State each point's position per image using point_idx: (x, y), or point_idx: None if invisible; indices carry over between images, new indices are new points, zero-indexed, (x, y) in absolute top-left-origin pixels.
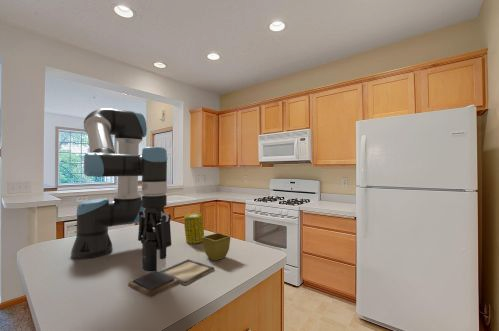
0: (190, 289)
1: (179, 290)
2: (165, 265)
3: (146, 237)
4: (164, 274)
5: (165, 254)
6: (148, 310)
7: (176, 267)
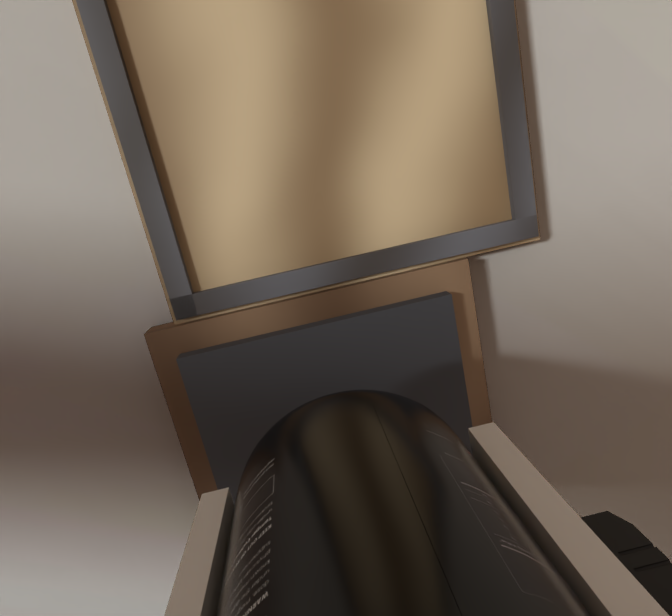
0: (613, 234)
1: (562, 302)
2: (503, 434)
3: None
4: (279, 305)
5: (660, 563)
6: None
7: (174, 126)
